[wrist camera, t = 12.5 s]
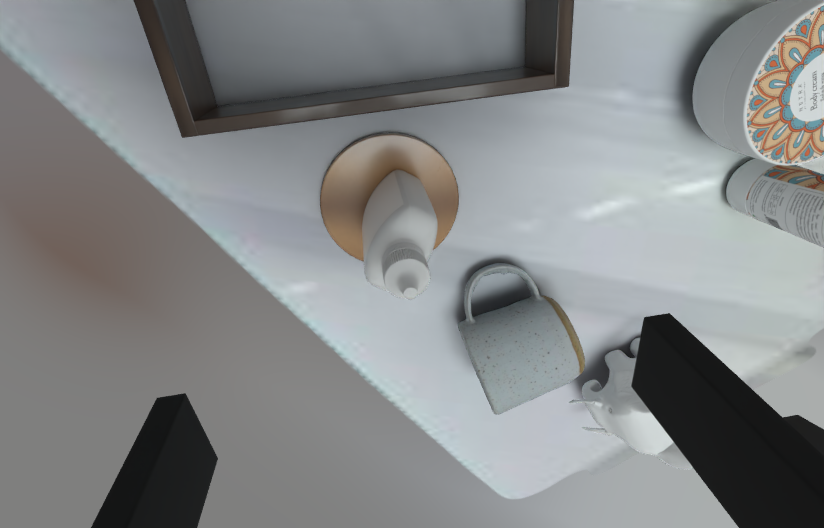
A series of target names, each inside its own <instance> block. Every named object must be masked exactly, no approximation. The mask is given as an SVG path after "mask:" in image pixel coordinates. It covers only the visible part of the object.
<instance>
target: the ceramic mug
mask: <svg viewBox="0 0 824 528" xmlns="http://www.w3.org/2000/svg"><path fill="white" fill-rule="evenodd" d="M494 273H501V274H506V273H517V274H518V275H520V276H521V277H522V278H523V280H524V281H525V282H526V284H527V286H528V287H529V290H530V292H531V297H530V298H527V299H524V300H522V301H518V302H516V303H514V304H511V305H509V306H506V307H503V308H500V309H497V310H493V311H490V312H487V313H484V314H480V315H479V316H476V317H472V314H471V297H472V293H473V291H474V289H475V286H477V283H478V281H479V280H480V278H481V277H483V276H486V275H490V274H494ZM464 308H465V314H466V320H464V321H462V322H459V323H458V328H459V331H460V333H461V335H462V339H463V341H464V344H465V346H466V349H467V351H468V354H469V356H470V359H471V361H472V364H473V366H474V369H475V371H476V374H477V377H478V378H479V381H480V383H481V386H482V388H483V390H484V392H485V394H486V397H487V399H488V401H489V404H490V406H491V408H492V410H493V412H494V414H496V415H499V414H501V413H503V412H505V411H507V410H510V409H512V408H514V407H516V406H518V405H521V404H523V403H525V402H527V401H530V400H532V399H534V398H536V397H538V396H541V395H543V394H545V393H547V392H549V391H552V390H554V389H557V388H559V387H561V386H563V385H566V384H568V383H569V382H571V381H572V380H574V379H575V378H577V377H578V376H579V375H580V374H581V373H582V372H583V370H584V367H585V358H584V353H583V350H582V347H581V344H580V341H579V339H578V336H577V334H576V332H575V330H574V328H573V326H572V324H571V322H570V320H569V318H568V317H567V315H566V314H565V312H564V311H563V309H562V308H561V307H560V305H559V304H558V303H557V302H556V301H555V300H553V299H552V298H549V297H547V296H540V295H539V291H538V289H537V286H536V285H535V283H534V281H533V280H532V279H531V278H530V276H529V275H528V274H527V273H526V272H525V271H523V270H522V269H520V268H518V267H516V266H514V265H510V264H504V263H496V264H492V265H488V266H485V267H483V268H481V269H479V270H478V271H477V272H476V273H475V274H473V275H472V277H471V278H470V279H469V282H468V284H467V286H466V289H465V294H464Z"/></svg>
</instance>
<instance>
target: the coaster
mask: <svg viewBox="0 0 824 528" xmlns="http://www.w3.org/2000/svg"><path fill="white" fill-rule="evenodd" d="M397 169H398V170H402V171H405V172H407V173H409V174H411V175H413V176H415V177H417V178H418V179H419V180H420V181H421V182H422V184H423V186H424V189H425V191H426V193H427V195H428V198H429V200H430V202H431V204H432V207H433V209H434V212H435V214H436V218H437V222H438V223H437V235H436V240H435V245H434V248H433V250H434V249H435V248H436V247H437V246H438V245H439V244H440V243H441V242H442V241H443V240H444V239H445V237H446V236H447V235H448V233H449V231H450V230H451V228H452V226H453V223H454V221H455V218H456V215H457V210H458V204H459V194H458V186H457V183H456V179H455V176H454V174H453V172H452V169H451V168H450V166H449V165H448V163H447V161H446V160H445V159H444V158H443V156H442V155H441V154H440V153H439V152H438V151H437V150H436V149H435V148H433V147H432V146H431V145H429V144H428V143H426V142H424V141H422V140H420V139H418V138H416V137H413V136H410V135H406V134H401V133H380V134H375V135H370V136H368V137H365V138H362V139H360V140H358V141H356V142H354V143H352V144H351V145H350V146H348V147H347V148H345V149H344V150H343V151H342V152H341V153H340V154H339V155H338V156H337V157H336V158H335V160H334V161H333V162H332V164H331V165H330V167H329V169H328V170H327V173H326V175H325V177H324V180H323V184H322V188H321V195H320V207H321V214H322V218H323V221H324V224H325V226H326V228H327V231H328V232H329V234H330V235H331V237H332V238H333V240H334V241H335V242H336V243H337V244H338V245H339V246H340V247H341V248H342V249H343V250H344V251H345V252H347V253H348V254H350V255H351V256H353V257H355V258H357V259H359V260H361V261H364V256H363V239H362V222H363V216H364V211H365V208H366V205H367V202H368V200H369V198H370V196H371V194H372V193H373V191H374V190H375V188H376V187H377V186H378V184H379V183H380V182H381V181H382V180H383V179H384V178H385V177H386V176H387V175H388V174H389V173H391V172H392V171H394V170H397Z"/></svg>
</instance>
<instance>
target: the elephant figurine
mask: <svg viewBox="0 0 824 528" xmlns="http://www.w3.org/2000/svg"><path fill="white" fill-rule="evenodd" d="M639 342H640V338H636V339H634V340H633V341H632V343H631V345H630V350H631V352H632V354H633V355H634V356H636V358H637V353H638V348H639ZM636 358H629V357H627V356H626V355H625V354H624V353H623V352H622V351H621V350H614V351H611V352H609V353H608V354H606V356H605V362H606V364H607V366H608V367H609V369H610V374H609V379H608V382H607V384H606V385H605V387H604V388H603V389H602V388H601V385H600V383H599V382H598V381H597V380H590V381H588V382H586V383H585V384H584V385H583V387H582V396H583V399H584V400H572V401H570V402H569V403H585V404H586V406H587V408H588V410H589V411H590V413H591V415H592V417H593V418H594V420H595V421H596V422H597V423H598V424H599V425H600V426H601V427H602V428H604V429H598V428H585V427H582V428H584V429H586V430H588V431H592V432H595V433H599V434H604V435H613V434H614V435H616V436H617V437H619V438H621V439H622V440H623V441H625V442H626V443H627V444H628V445H629V446H630V447H631V448H633V449H634V450H636V451H638V452H640V453H643V454H647V455H650V454H652V455H654V456H656V457H657V458H659V459H660V460H661V461H663V462H664V463H665V464H667V465H669V466H671V467H674V468H678V469H693V467H692V466H691V464H690V463H689V462H688V460H687V459H686V458H685V456H684V455H683V454H682V452H681V451H680V450H679V448H678V447H677V446H676V445H675V443H674V442H673V441H672V439H671V438H670V437H669V435H668V434H667V433H666V431H665V430H664V429H663V428H662V426H661V425H660V424H659V422H658V421H657V420H656V418H655V417H654V416H653V414H652V413H651V412H650V411H649V409H648V408H647V407H646V405H645V404H644V403H643V401H642V400H641V399H640V397H639V396H638V395H637V394H636V392H635V391H634V390H633V388H632V387H631V384H632V379H633V374H634V369H635V363H636Z"/></svg>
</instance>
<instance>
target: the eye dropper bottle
mask: <svg viewBox="0 0 824 528" xmlns="http://www.w3.org/2000/svg"><path fill="white" fill-rule="evenodd" d="M437 223H438V222H437V218H436V214H435V212H434V209H433V207H432V204H431V202H430V200H429V198H428V195H427V193H426V191H425V189H424V186H423V184H422V182H421V181H420V180H419V179H418V178H417V177H415V176H413V175H411V174H409V173H407V172H405V171H402V170H398V169H397V170H394V171H392V172H391V173H389V174H388V175H387V176H386V177H385V178H384V179H383V180H382V181H381V182H380V183H379V184H378V186H377V187H376V188H375V190H374V191H373V193H372V194H371V196H370V198H369V200H368V202H367V205H366V208H365V211H364V216H363V222H362V239H363V256H364V269H365V276H366V279H367V281H368V282H369V283H370V284H371V285H373V286H375V287H378V288H380V289H383V290H385V291H389V293H391V294H393V295H394V296H396V297H399V298H403V299H405V298H406V299H408V300H412V299H414V298H416V297H417V296H418V295H420V294H421V293H422V292H424V291H425V289H427V287H428V285H429V283H430V282H429V281H430V271H429V268H428V265H427V262H428V260H429V258H430V256H431V253H432V251H433V248H434V245H435V240H436V235H437Z"/></svg>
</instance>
